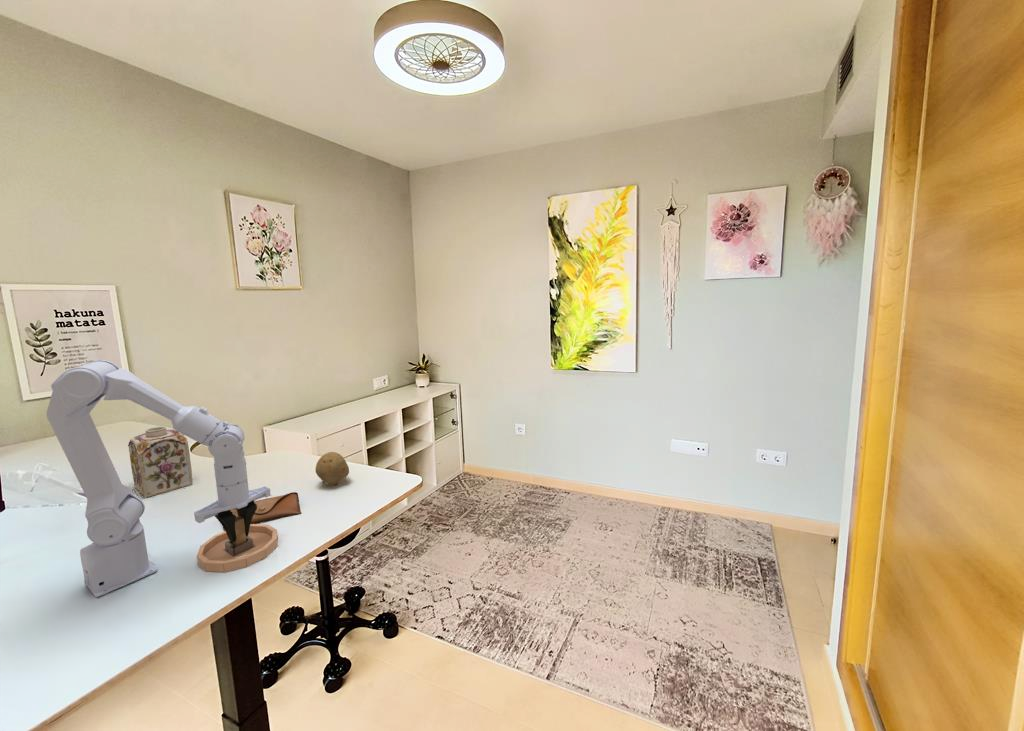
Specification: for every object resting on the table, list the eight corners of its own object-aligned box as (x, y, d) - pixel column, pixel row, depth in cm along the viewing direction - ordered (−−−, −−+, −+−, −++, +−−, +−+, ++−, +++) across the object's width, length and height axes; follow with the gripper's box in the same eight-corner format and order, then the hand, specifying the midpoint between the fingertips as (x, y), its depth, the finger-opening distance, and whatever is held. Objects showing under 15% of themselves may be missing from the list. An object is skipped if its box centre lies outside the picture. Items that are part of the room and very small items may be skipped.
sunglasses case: (221, 534, 101) (218, 506, 103) (222, 536, 107) (220, 509, 109) (303, 513, 111) (300, 487, 113) (301, 515, 117) (297, 491, 119)
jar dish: (217, 581, 85) (216, 572, 85) (186, 555, 93) (185, 547, 93) (290, 545, 97) (289, 537, 97) (257, 525, 106) (256, 518, 105)
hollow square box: (233, 557, 92) (232, 549, 92) (223, 549, 95) (222, 542, 94) (255, 546, 96) (254, 539, 96) (245, 540, 98) (244, 533, 98)
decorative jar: (144, 499, 118) (134, 437, 115) (133, 487, 125) (124, 429, 122) (195, 484, 128) (187, 427, 125) (182, 474, 135) (175, 419, 132)
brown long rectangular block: (237, 551, 94) (234, 522, 93) (233, 548, 95) (229, 519, 94) (247, 546, 95) (243, 518, 94) (242, 544, 97) (239, 515, 95)
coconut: (312, 482, 129) (309, 451, 127) (341, 474, 135) (339, 444, 133) (322, 493, 122) (319, 460, 121) (352, 484, 128) (350, 453, 127)
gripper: (201, 498, 84) (209, 560, 87) (275, 473, 96) (280, 528, 99) (186, 489, 88) (194, 549, 91) (259, 466, 100) (264, 519, 102)
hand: (238, 537), depth 95 cm, fingers closed on brown long rectangular block, 2 cm apart
